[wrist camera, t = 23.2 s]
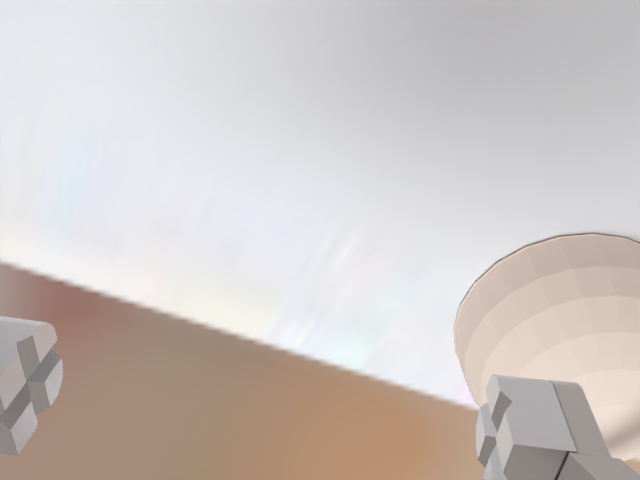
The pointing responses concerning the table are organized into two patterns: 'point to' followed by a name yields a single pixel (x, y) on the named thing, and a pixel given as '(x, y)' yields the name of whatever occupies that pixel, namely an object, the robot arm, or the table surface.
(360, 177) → the table surface
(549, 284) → the beige deep bowl
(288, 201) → the table surface
